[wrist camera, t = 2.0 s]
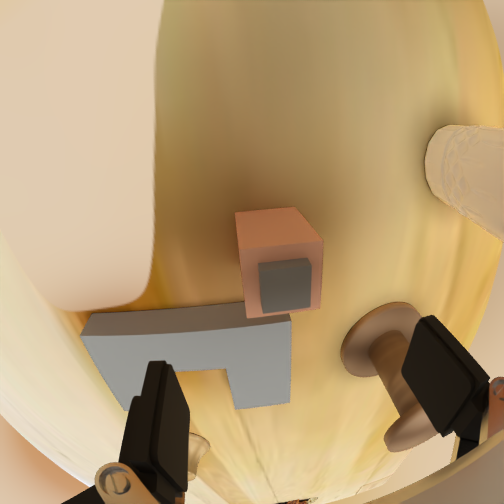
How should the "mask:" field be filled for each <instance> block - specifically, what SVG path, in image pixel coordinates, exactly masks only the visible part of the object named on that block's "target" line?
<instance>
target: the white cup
mask: <svg viewBox="0 0 504 504" xmlns="http://www.w3.org/2000/svg"><path fill="white" fill-rule="evenodd" d="M425 171H426V180H427V182H428V184H429V187H430V189H431V191H432V193H433V195H435V196H436V197H437V198H438V199H440V200H441V201H442V202H443V203H445V204H447V205H449V206H450V207H452V208H454V209H456V210H457V211H458V212H459V213H460V214H462V215H463V216H465V217H467V218H468V219H470V220H471V221H473V222H474V223H476V224H477V225H479V226H480V227H481V228H483V229H484V230H486V231H487V232H489V233H490V234H492V235H493V236H495V237H496V238H498V239H499V240H501V241H502V242H504V128H503V127H494V126H480V125H474V126H462V125H447V126H445V127H443V128H440V129H438V130H437V131H436V133H435V134H434V135H433V137H432V138H431V140H430V141H429V143H428V147H427V152H426V157H425Z"/></svg>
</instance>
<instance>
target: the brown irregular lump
mask: <svg viewBox="0 0 504 504" xmlns="http://www.w3.org/2000/svg"><path fill="white" fill-rule="evenodd" d="M317 499H318V497H317V498H316V497H315V498H310V499H309V500H308V501H303V502H299V499H298V500H293V501H288V504H311V503H313V502H315V501H316V500H317Z"/></svg>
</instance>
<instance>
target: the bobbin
mask: <svg viewBox="0 0 504 504" xmlns="http://www.w3.org/2000/svg"><path fill="white" fill-rule="evenodd" d="M420 318H422V317H421V315H420V314H419V313H418V311H417V310H416V309H415V308H414V307H413V306H412V305H410V304H407V303H404V302H394V303H389V304H385V305H383V306H380V307H378V308H376V309H374V310H373V311H371V312H369V313H368V314H366V315H365V316H364V317H362V318H361V319H360V320H359V321H358V322H357V323H356V324H355V325H354V326H353V327H352V328H351V330H350V331H349V332H348V334H347V335H346V337H345V339H344V341H343V344H342V347H341V358H342V361H343V363H344V366H345V368H346V369H347V371H348V372H349V373H351V374H352V375H354V376H358V377H371V376H376V375H379V376H380V378H381V380H382V382H383V384H384V386H385V388H386V390H387V391H388V393H389V395H390V397H391V399H392V401H393V403H394V405H395V407H396V409H397V411H398V413H399V415H400V418H399V419H397V420H396V421H395V422H394V423H393V424H392V425H391V427H390V428H389V429H388V430H387V432H386V433H385V435H384V441H385V444H386V446H387V448H388V450H389V451H390V452H400V451H404V450H407V449H410V448H413V447H415V446H417V445H419V444H421V443H423V442H425V441H427V440H428V439H430V438H432V437H433V436H435V435H436V434H438V432H437V431H436V430H435V428H434V427H433V425H432V423H431V422H430V420H429V418H428V417H427V415H426V413H425V412H424V410H423V408H422V407H421V405H420V403H419V402H418V400H417V399H416V397H415V395H414V394H413V392H412V391H411V389H410V387H409V386H408V384H407V383H406V381H405V380H404V378H403V376H402V374H401V368H402V365H403V363H404V360H405V357H406V354H407V351H408V348H409V345H410V342H411V339H412V335H413V332H414V329H415V326H416V324H417V323H418V321H419V319H420Z"/></svg>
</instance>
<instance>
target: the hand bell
mask: <svg viewBox="0 0 504 504" xmlns="http://www.w3.org/2000/svg"><path fill="white" fill-rule="evenodd" d="M209 449H210V444H209V442H208V441H207V440H206V439H204V438H202V437H201V436H198V435H196V434H192V433H189V450H188V481H191V480H193V479H195V477H196V472H197V467H198V463H199V461H200V459H201V457H202V456H203V455H205V454H206V453H207V452H208V451H209ZM184 502H185V493H184V492H183V498H178V497H175V504H184Z"/></svg>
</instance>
